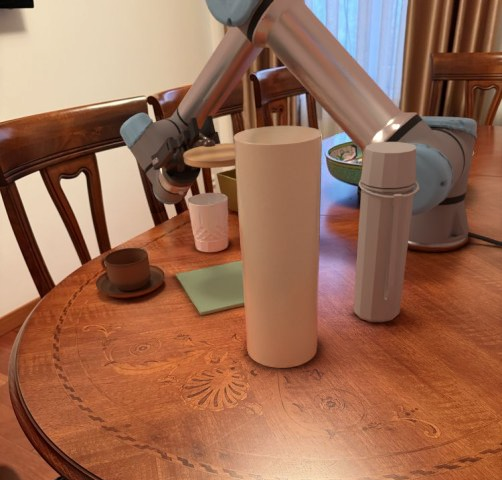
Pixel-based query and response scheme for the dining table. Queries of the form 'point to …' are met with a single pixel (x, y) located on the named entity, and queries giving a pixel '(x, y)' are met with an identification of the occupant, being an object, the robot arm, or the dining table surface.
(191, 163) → the lid
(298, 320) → the canister
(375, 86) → the robot arm
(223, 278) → the mat
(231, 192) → the flower pot
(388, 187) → the water bottle
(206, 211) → the white cup
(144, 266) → the cup and saucer
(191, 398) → the dining table surface
